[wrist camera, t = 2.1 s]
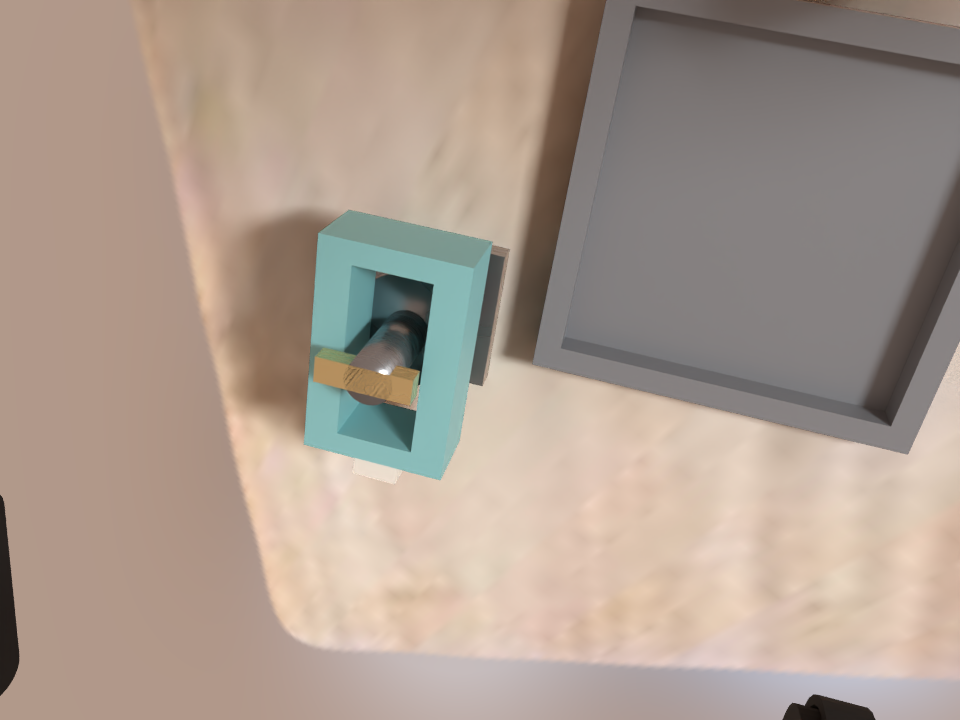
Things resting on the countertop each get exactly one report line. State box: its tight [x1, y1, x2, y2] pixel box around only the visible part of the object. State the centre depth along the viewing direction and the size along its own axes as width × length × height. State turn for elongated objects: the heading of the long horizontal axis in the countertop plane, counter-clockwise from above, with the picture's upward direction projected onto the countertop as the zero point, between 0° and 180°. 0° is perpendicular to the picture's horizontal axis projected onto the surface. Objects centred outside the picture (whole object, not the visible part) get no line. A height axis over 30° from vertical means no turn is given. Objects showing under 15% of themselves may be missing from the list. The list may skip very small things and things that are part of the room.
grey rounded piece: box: [313, 245, 510, 406], centre depth 33 cm, size 6×6×8 cm
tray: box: [532, 0, 960, 454], centre depth 32 cm, size 15×15×2 cm
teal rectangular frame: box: [304, 210, 492, 484], centre depth 33 cm, size 10×6×3 cm, turn 171°
